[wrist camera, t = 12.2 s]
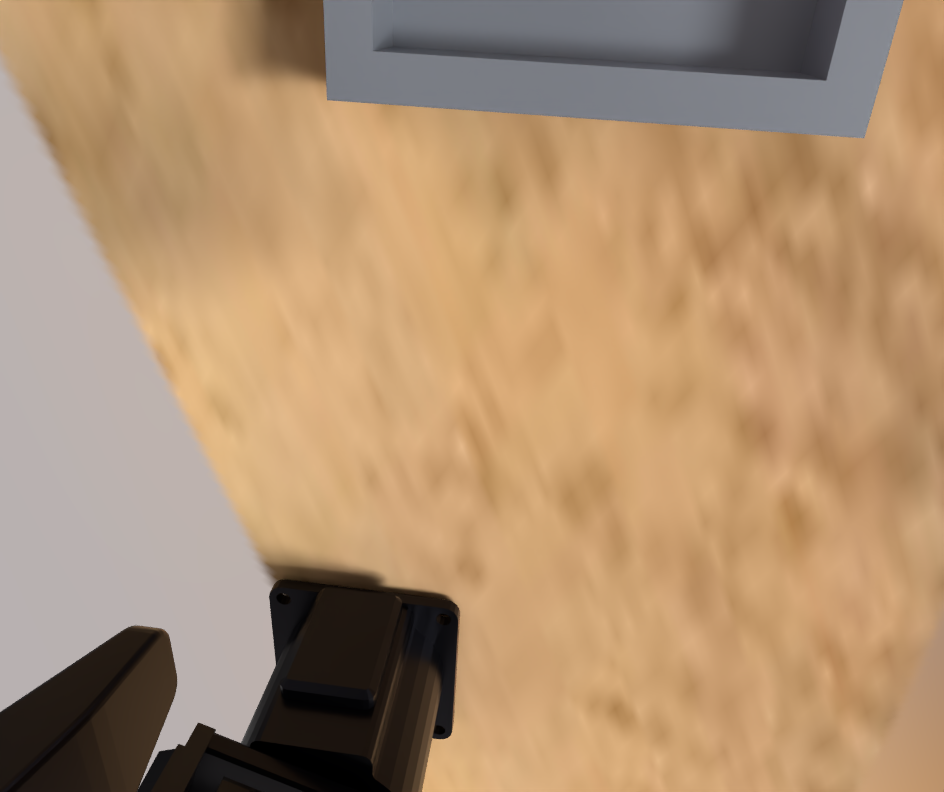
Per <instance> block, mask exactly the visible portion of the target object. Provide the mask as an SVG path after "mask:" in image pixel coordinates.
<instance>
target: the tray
mask: <svg viewBox="0 0 944 792" xmlns="http://www.w3.org/2000/svg"><path fill="white" fill-rule="evenodd" d="M903 1H904V0H323V5H324V32H325V59H326V86H327V100H333V101H347V102H361V103H375V104H389V105H403V106H417V107H432V108H446V109H460V110H474V111H488V112H502V113H516V114H530V115H544V116H559V117H573V118H587V119H601V120H615V121H629V122H643V123H657V124H671V125H686V126H700V127H714V128H728V129H742V130H756V131H770V132H784V133H798V134H813V135H827V136H841V137H855V138H864V137H865V134H866V130H867V127H868V123H869V120H870V116H871V113H872V109H873V106H874V102H875V99H876V95H877V92H878V88H879V85H880V81H881V78H882V74H883V71H884V67H885V64H886V60H887V57H888V53H889V50H890V46H891V43H892V39H893V36H894V32H895V29H896V25H897V22H898V18H899V15H900V11H901V8H902V4H903Z"/></svg>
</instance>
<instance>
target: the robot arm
mask: <svg viewBox="0 0 944 792" xmlns="http://www.w3.org/2000/svg"><path fill="white" fill-rule="evenodd" d="M282 593H284V594H287V595H288V596H285V595H283V594H282ZM269 599H270V609H271V618H272V629H273V637H274V638H273V639H274V649H275V658H276V667H275V669H274V671H273V674H272V676H271V678H270V680H269V682H268V685H267V687H266V689H265V691H264V694H263V696H262V698H261V700H260V702H259V705H258V707H257V709H256V711H255V714H254V716H253V718H252V720H251V723H250V725H249V727H248V729H247V731H246V734H245V736H244V738H243V741H242V742H241V743H239V742H236V741H234V740H231V739H229V738H226V737H224V736H221V735H219V734H216V733H215V731H216V730H215V729H213V728H211V727H208V726H206V725H203V724H201V723H198V724H197V726H196V727H195V729H194V731H193V733H192V735H191V736H190V738H189V740H188V742H187V743H186V745H185V746H183V745H180V744H178V746H177V747H176V749H172V750H165V751H160V752H159V753H158V755H157V757H156V758H155V760H154V762H153V764H152V766H151V767H150V769H149V771H148V773H147V774H146V776H145V778H144V780H143V782H142V783H141V780H142V778H143V775H144V773H145V770H146V768H147V765H148V762H149V760H150V757H151V755H152V752H153V750H154V747H155V745H156V742H157V740H158V737H159V735H160V732H161V730H162V727H163V725H164V722H165V720H166V717H167V714H168V712H169V710H170V707H171V704H172V702H173V699H174V696H175V692H176V687H177V674H176V669H175V663H174V658H173V653H172V648H171V642H170V638H169V635H168V633H167V632H166V631H165V630H163V629H159V628H152V627H144V626H131V627H128V628H126V629H124V630H123V631H121V632H120V633H118V634H117V635H115V636H114V637H112V638H111V639H109V640H108V641H106V642H105V643H103V644H102V645H100V646H99V647H98V648H96V649H94V650H93V651H91V652H90V653H88V654H87V655H85V656H84V657H82V658H81V659H79V660H78V661H76V662H75V663H73V664H72V665H70V666H69V667H67V668H66V669H64V670H63V671H61V672H60V673H58V674H57V675H55V676H54V677H52V678H51V679H49V680H48V681H46V682H45V683H43V684H42V685H40V686H39V687H37V688H36V689H34V690H33V691H31V692H30V693H28V694H27V695H25V696H24V697H22V698H21V699H19V700H18V701H16V702H15V703H13V704H12V705H11V706H9V707H7V708H6V709H4V710H3V711H1V712H0V792H422V788H423V783H424V777H425V772H426V767H427V762H428V757H429V752H430V747H431V741H432V738H434V739H445V738H448V737H449V736H450V735H451V733H452V729H453V722H454V705H455V688H456V671H457V654H458V637H459V620H460V610H459V608H458V606H457V605H456V604H455V603H453V602H452V601H449V600H444V599H436V598H428V597H420V596H412V595H404V594H396V593H389V592H381V591H373V590H365V589H357V588H349V587H341V586H333V585H325V584H317V583H309V582H301V581H293V580H280V581H277V582H276V583H275V584H274V586H273V588H272V590H271V592H270V596H269ZM440 614H446V615H448V616H446V617H445V616H442V615H440ZM140 783H141V785H140ZM139 785H140V787H139ZM138 788H139V789H138ZM137 790H138V791H137Z"/></svg>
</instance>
